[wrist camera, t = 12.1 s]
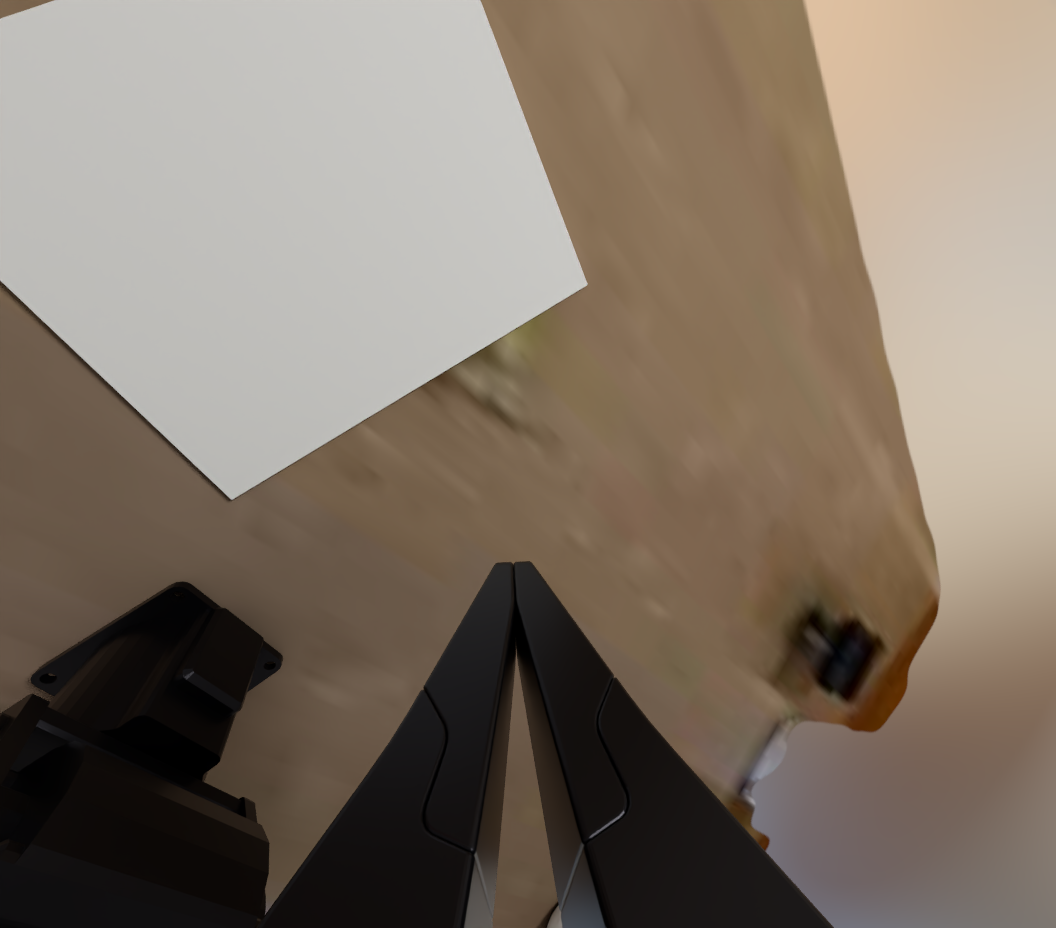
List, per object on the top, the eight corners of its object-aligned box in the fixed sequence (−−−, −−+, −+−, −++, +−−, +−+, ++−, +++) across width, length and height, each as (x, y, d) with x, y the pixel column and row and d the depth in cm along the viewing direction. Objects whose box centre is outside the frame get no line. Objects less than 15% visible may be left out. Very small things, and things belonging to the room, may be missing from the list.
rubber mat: (233, 498, 17) (231, 500, 17) (-195, 91, 10) (-203, 87, 10) (585, 285, 21) (587, 285, 20) (431, -122, 14) (432, -127, 14)
